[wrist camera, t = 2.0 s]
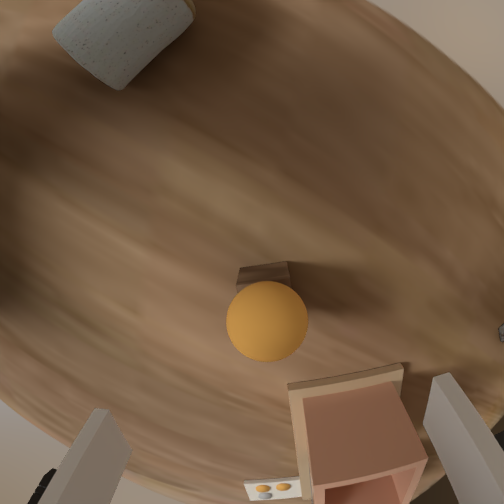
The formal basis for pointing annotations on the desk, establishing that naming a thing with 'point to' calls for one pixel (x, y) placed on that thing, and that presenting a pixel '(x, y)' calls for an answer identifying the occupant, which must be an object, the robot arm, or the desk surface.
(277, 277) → the stand
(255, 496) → the tile
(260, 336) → the ball
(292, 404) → the double square tube
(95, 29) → the ceramic mug
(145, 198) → the desk surface
